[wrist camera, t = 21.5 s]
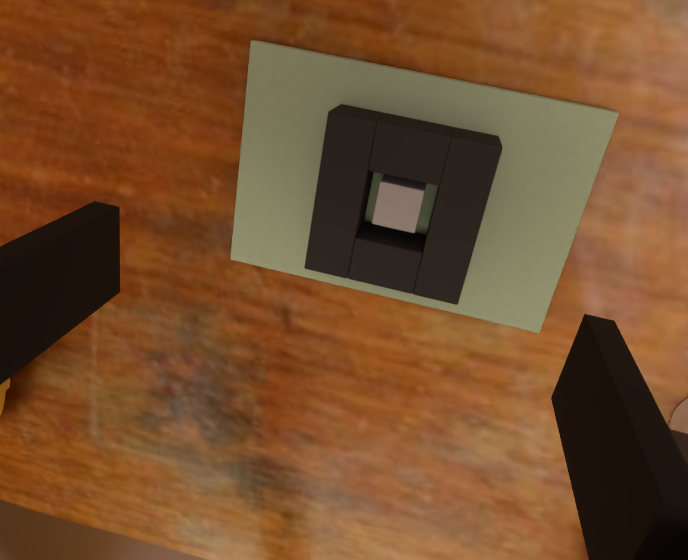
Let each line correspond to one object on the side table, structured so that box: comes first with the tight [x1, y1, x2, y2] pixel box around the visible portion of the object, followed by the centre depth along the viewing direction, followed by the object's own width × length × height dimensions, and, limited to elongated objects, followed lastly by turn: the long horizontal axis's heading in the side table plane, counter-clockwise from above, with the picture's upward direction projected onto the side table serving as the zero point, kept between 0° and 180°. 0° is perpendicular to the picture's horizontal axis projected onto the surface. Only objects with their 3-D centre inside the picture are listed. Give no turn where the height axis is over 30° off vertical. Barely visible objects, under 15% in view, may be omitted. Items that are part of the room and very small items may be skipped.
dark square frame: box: [304, 104, 503, 305], centre depth 29 cm, size 8×8×3 cm
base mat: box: [230, 40, 619, 333], centre depth 29 cm, size 12×18×4 cm, turn 80°
